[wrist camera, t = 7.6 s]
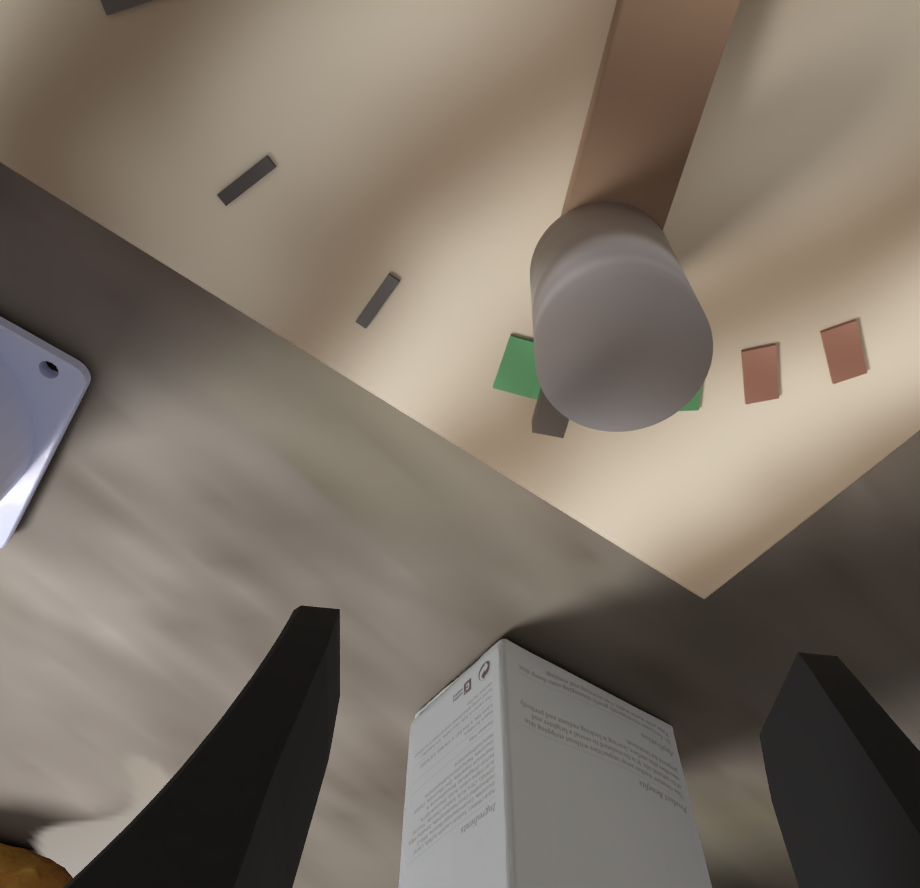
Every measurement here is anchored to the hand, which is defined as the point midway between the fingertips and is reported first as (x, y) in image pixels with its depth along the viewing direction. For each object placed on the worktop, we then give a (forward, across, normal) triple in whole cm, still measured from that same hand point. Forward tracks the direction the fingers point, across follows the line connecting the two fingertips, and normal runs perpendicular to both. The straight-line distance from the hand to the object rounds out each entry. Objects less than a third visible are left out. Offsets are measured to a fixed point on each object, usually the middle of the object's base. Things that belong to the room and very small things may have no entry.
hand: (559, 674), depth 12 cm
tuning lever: (+9, -1, -6) cm, 11 cm away
